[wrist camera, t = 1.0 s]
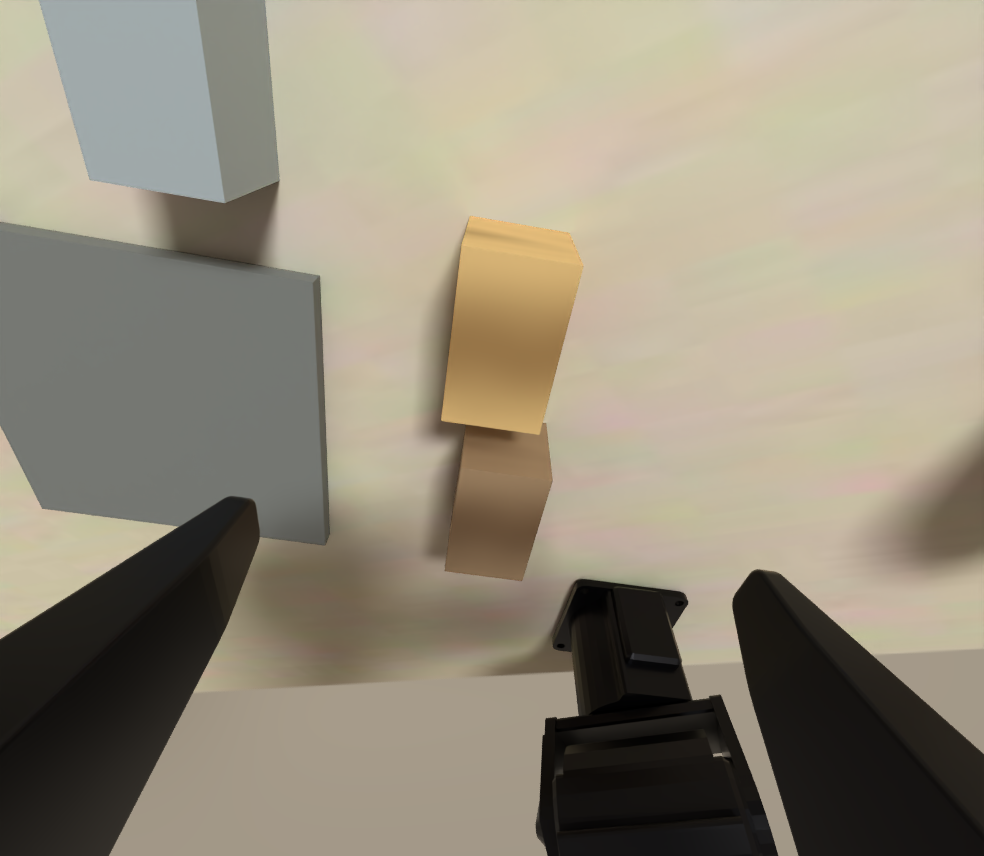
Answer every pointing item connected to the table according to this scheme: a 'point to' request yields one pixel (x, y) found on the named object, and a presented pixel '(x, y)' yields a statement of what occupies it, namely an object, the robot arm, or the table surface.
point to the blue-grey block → (169, 93)
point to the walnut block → (498, 501)
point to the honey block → (508, 324)
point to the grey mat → (162, 382)
